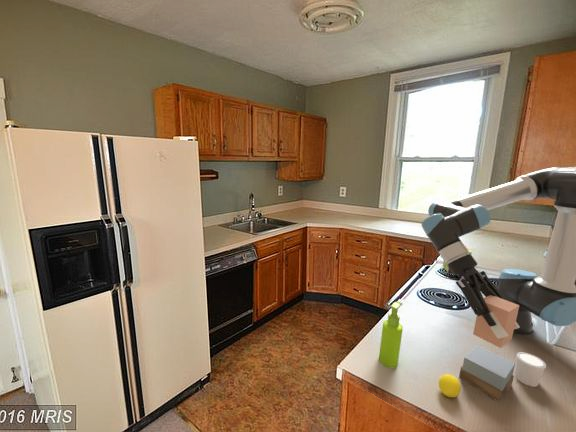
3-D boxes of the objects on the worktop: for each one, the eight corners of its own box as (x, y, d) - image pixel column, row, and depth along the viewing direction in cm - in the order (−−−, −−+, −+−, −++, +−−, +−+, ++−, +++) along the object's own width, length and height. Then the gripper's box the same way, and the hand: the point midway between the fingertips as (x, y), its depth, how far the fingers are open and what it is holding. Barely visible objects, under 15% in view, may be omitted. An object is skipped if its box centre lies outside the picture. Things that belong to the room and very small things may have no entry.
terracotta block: (484, 327, 85) (490, 294, 83) (511, 340, 79) (519, 305, 77) (473, 334, 81) (480, 300, 79) (500, 348, 75) (509, 311, 73)
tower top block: (474, 355, 89) (476, 344, 89) (512, 374, 82) (515, 363, 81) (462, 368, 83) (464, 357, 82) (502, 391, 76) (505, 378, 75)
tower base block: (474, 365, 90) (476, 355, 90) (511, 387, 82) (513, 375, 81) (458, 377, 85) (461, 366, 84) (496, 402, 77) (499, 389, 76)
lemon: (457, 407, 75) (460, 392, 73) (435, 396, 78) (437, 381, 76) (461, 388, 80) (463, 374, 78) (440, 379, 83) (442, 364, 82)
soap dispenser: (401, 359, 91) (409, 304, 87) (393, 370, 86) (401, 312, 82) (384, 350, 95) (391, 297, 91) (375, 361, 90) (382, 305, 86)
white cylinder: (527, 371, 88) (531, 351, 87) (547, 388, 82) (553, 368, 80) (506, 370, 88) (510, 351, 87) (525, 388, 81) (530, 367, 80)
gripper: (463, 259, 95) (510, 326, 85) (430, 269, 84) (479, 347, 74) (483, 249, 89) (536, 319, 79) (451, 258, 79) (507, 341, 69)
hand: (508, 332), depth 77 cm, fingers closed on terracotta block, 7 cm apart
